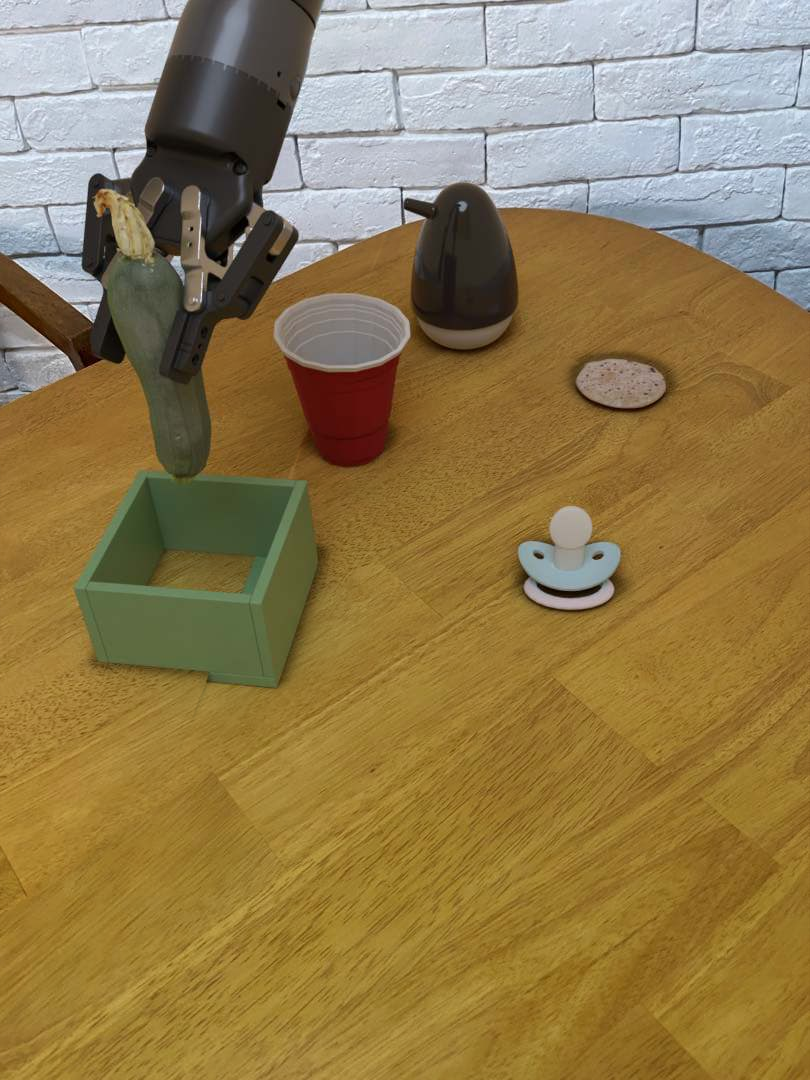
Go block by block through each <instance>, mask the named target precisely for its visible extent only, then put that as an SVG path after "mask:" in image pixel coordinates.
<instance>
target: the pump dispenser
mask: <svg viewBox="0 0 810 1080" xmlns="http://www.w3.org/2000/svg"><path fill="white" fill-rule="evenodd" d="M402 208H403V210H405V211H407V212H410V213H412V214H414V215H417V216H420V217H422V218H425V219H424V221H423V223H422V226H421V229H420V232H419V235H418V239H417V242H416V246H415V251H414V255H413V261H412V267H411V278H410V293H409V294H410V295H409V296H410V297H409V298H410V307H411V310H412V312H413V314H414V315H415V317H416V319H417V322H418V324H419V326H420V328H421V330H423V332H424V333H425V334H426V336H428V337H429V338H430V339H431V340H432V341H433V342H435V343H436V344H438V345H440V346H443V347H446V348H450V349H453V350H474V349H478V348H482V347H485V346H487V345H489V344H491V343H493V342H494V341H496V340H497V339H499V338H500V337H501V336H502V335H503V334H504V332H506V330H507V328H508V327H509V325H510V323H511V321H512V318H513V315H514V313H515V311H517V308H518V306H519V300H520V299H519V298H520V296H519V295H520V293H519V281H518V274H517V273H518V272H517V267H516V260H515V255H514V251H513V247H512V244H511V241H510V238H509V234H508V231H507V229H506V226H505V223H504V221H503V219H502V216H501V214H500V211H499V210H498V207H497V206H496V204H495V203H494V201H493V199H492V198H491V196H490V195H489V193H488V192H487V191H486V190H484V188H483V187H481V186H479V185H477V184H475V183H472V182H467V181H457V182H455V183H451V184H449V185H447V186H446V187H444V188H443V189H442V190H441V191H440V192H439V193H438V194H437V195H436V197H435V199H434V200H433V202H429V201H425V200H420V199H416V198H415V199H414V198H411V197H406V198H405V199H403V201H402Z"/></svg>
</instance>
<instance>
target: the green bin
mask: <svg viewBox="0 0 810 1080" xmlns="http://www.w3.org/2000/svg"><path fill="white" fill-rule="evenodd" d="M311 505H312V504H311V497H310V491H309V484H308V480H303V479H288V478H275V477H257V476H243V475H240V476H239V475H228V474H227V475H225V474H212V473H210V474H209V473H199V474H197V475H196V477H195V478H194V479H193V480H192V481H190V482H189V483H185V484H182V483H180V482H178V483H173V482H172V479H171V474H168V473H167V472H166V471H165V470H164V471H163V470H147V469H139V470H138V472H137V474H136V476H135V477H134V479H133V481H132V482H131V484H130V487H129V488H128V490H127V492H126V494H125V495H124V497H123V499H122V500H121V503H120V504H119V506H118V508H117V509H116V512H115V513H114V515H113V517H112V518H111V520H110V522H109V524H108V525H107V527H106V528H105V529H106V530H105V531H104V533H103V534H102V536H101V538H100V540H99V542H98V544H97V545H96V546H95V549H94V551H93V553H92V554H91V556H90V558H89V560H88V561H87V563H86V565H85V567H84V568H83V570H82V572H81V574H80V576H79V578H78V579H77V581H76V582H75V585H74V586H73V591H74V594H75V597H76V600H77V604H78V606H79V609H80V612H81V614H82V617H83V620H84V623H85V626H86V630H87V634H88V636H89V639H90V640H91V644H92V647H93V650H94V653H95V657H96V659H97V662H99V663H110V664H121V665H129V666H130V665H131V666H142V667H153V668H163V669H173V670H185V671H195V672H196V671H197V672H206V673H208V675H207V678H206V682H210V683H219V684H229V685H230V684H231V685H240V686H250V687H251V686H253V687H260V688H262V687H263V688H271V689H272V688H273V689H278V686H279V684H280V680H281V677H282V674H283V671H284V668H285V666H286V662H287V660H288V657H289V654H290V651H291V647H292V644H293V641H294V638H295V635H296V632H297V629H298V627H299V624H300V621H301V617H302V615H303V611H304V608H305V606H306V603H307V600H308V597H309V594H310V590H311V587H312V584H313V582H314V578H315V576H316V573H317V569H318V567H319V557H318V556H319V555H318V549H317V541H316V536H315V535H316V534H315V527H314V518H313V513H312V512H313V511H312V506H311ZM165 550H171V551H183V552H184V551H185V552H198V553H199V552H200V553H211V554H222V555H237V556H250V557H254V560H253V562H252V565H251V568H250V569H249V573H248V575H247V577H246V580H245V582H244V585H243V587H242V590H241V593H238V592H226V591H225V592H224V591H215V590H203V589H189V588H179V587H166V586H155V585H154V586H153V585H148V584H149V582H150V579H151V578H152V576H153V574H154V571H155V569H156V567H157V565H158V563H159V561H160V559H161V557H162V555H163V553H164V551H165Z"/></svg>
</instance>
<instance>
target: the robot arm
mask: <svg viewBox="0 0 810 1080" xmlns="http://www.w3.org/2000/svg"><path fill="white" fill-rule="evenodd" d="M325 2H326V0H187V2H186V4H185V5H184V8H183V11H182V13H181V15H180V17H179V20H178V23H177V26H176V28H175V32H174V35H173V37H172V41H171V44H170V47H169V50H168V54H167V57H166V60H165V63H164V66H163V69H162V72H161V75H160V77H159V82H158V85H157V87H156V91H155V94H154V97H153V100H152V103H151V106H150V109H149V113H148V115H147V118H146V122H145V125H144V136H145V137H144V138H145V141H146V149H145V155H144V157H143V158H142V160H141V161H140V163H139V164H138V165H137V166H136V168H135V169H134V170H133V171H132V174H131V176H130V177H125V178H117V179H110V178H109V177H107V176H106V175H104V174H102V173H101V172H97V173H94V174H93V175H92V176H91V177H90V178H89V180H88V184H87V195H86V206H85V218H84V229H83V230H84V231H83V242H82V254H81V269H82V271H84V272H85V273H87V274H89V275H91V277H93V278H94V279H95V280H96V281H98V282H99V283H100V285H101V286H102V296H101V299H100V302H99V305H98V308H97V312H96V315H95V319H94V320H93V325H92V327H91V330H90V332H89V344H90V345H91V346H90V352H91V354H92V356H94V357H96V358H99V359H101V360H103V361H106V362H109V363H113V364H114V365H115V364H116V365H120V364H122V362H123V361H124V360H125V356H126V352H125V350H124V347H123V345H122V342H121V340H120V338H119V335H118V333H117V331H116V328H115V325H114V322H113V319H112V316H111V312H110V309H109V305H108V297H107V282H108V277H109V274H110V271H111V268H112V267H113V265H114V264H115V263H116V261H117V259H118V258H121V257H122V256H124V254H123V252H121V251H117V248H120V247H119V246H118V242H117V241H116V237H115V232H114V229H113V226H112V216H111V211H110V209H109V208H107V207H106V206H105V204H104V205H103V206H104V207H105V211H104V212H103V213H102V216H101V217H97V214H98V213H97V211H96V208H95V206H94V202H95V197H94V196H96V195H97V193H98V192H99V190H101V189H110V190H115V191H116V192H117V193H118V194H120V195H122V196H125V197H127V198H129V200H128V201H129V202H131V203H132V204H134V206H135V207H136V208H138V210H139V211H140V212H141V214H142V215H143V217H144V220H145V223H146V226H147V228H148V229H149V231H150V233H151V235H152V237H153V239H154V242H155V245H154V248H153V252H156V253H158V254H160V255H162V256H163V257H164V258H166V259H167V260H168V261H169V262H170V263H171V262H172V260H173V259H174V257H180V258H179V259H180V260H179V262H180V266H181V269H182V271H183V272H184V282H183V285H184V295H183V305H184V308H185V312H181V311H177V313H176V316H175V319H174V323H173V326H172V329H171V332H170V335H169V338H168V341H167V344H166V347H165V350H164V354H163V357H162V360H161V363H160V366H159V373H160V375H161V376H162V377H165V378H167V379H170V380H172V381H174V382H178V383H181V384H185V385H186V384H188V383H189V382H190V381H191V378H192V376H194V377H195V376H196V375H197V373H198V372H199V371H200V369H201V368H202V367H203V364H204V359H205V358H206V354H207V353H206V352H207V351H208V347H209V345H210V342H211V338H212V336H213V332H214V329H215V328H216V326H217V324H219V323H221V322H222V321H223V320H229V319H238V320H240V321H246V320H249V319H250V318H251V317H252V316H253V314H254V313H255V311H256V309H257V308H258V306H259V304H260V302H261V301H262V299H263V298H264V296H265V295H266V293H267V292H268V290H269V288H270V286H271V285H272V284H273V281H274V280H275V278H276V277H277V275H278V274H279V271H280V270H281V269H282V267H283V265H284V263H285V262H286V261H287V258H288V257H289V256H290V254H291V253H292V251H293V249H294V248H295V246H296V244H297V243H298V241H299V238H300V233H299V230H298V229H297V228H296V227H295V226H294V225H293V224H291V222H290V221H288V220H287V219H286V218H284V217H283V216H282V215H280V214H279V213H277V212H275V210H273V209H269V210H268V209H265V208H264V199H263V190H264V186H266V185H268V184H269V183H270V182H271V180H272V179H273V176H274V173H275V170H276V166H277V163H278V161H279V158H280V154H281V151H282V147H283V146H284V142H285V140H286V136H287V133H288V131H289V127H290V123H291V120H292V118H293V115H294V110H295V109H296V105H297V102H298V99H299V95H300V92H301V89H302V87H303V84H304V80H305V76H306V73H307V71H308V64H309V61H310V54H311V48H312V43H313V40H314V35H315V33H316V32H315V31H316V28H317V26H318V24H319V23H318V22H319V19H320V17H321V13H322V10H323V8H324V4H325ZM93 197H94V198H93ZM243 235H245V240H244V242H243V243H242V245H241V247H240V248H239V250H238V251H237V253H236V254H235V256H234V245H235V242H237V241H238V240H239V239H240V238H241V237H242V236H243ZM120 249H121V248H120Z"/></svg>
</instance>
